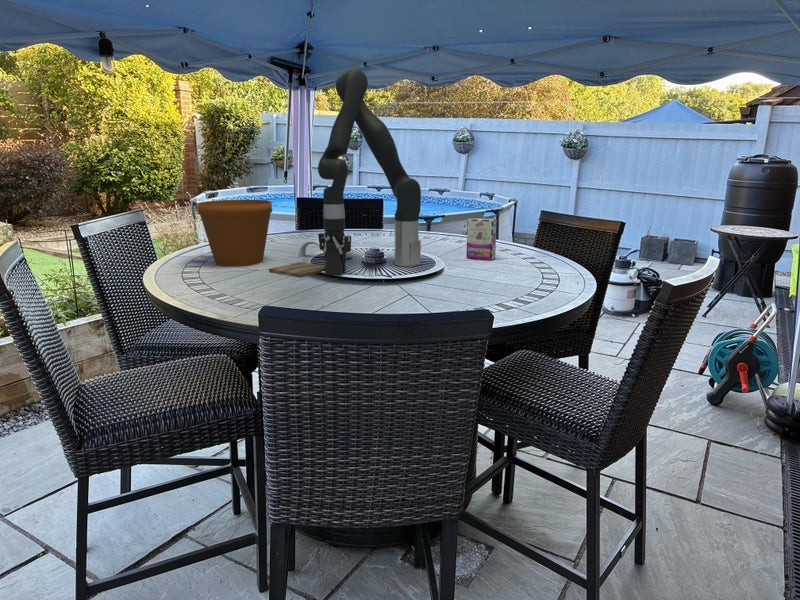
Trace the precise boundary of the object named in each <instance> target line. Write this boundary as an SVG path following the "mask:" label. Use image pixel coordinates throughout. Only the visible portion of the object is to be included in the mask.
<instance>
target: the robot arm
mask: <svg viewBox="0 0 800 600" xmlns="http://www.w3.org/2000/svg"><path fill="white" fill-rule="evenodd" d="M368 86H369V81H368V77H367V75H366V73H365V72H363V71H362V70H361V69H358V68H353V69H350V70H348V71H346V72H344V73H343V74H341V75H340V76H339V77H338V78H337V79H336V81H335V91H336V93H337V95H338V97H339V98H340V100H341V102H342V104H341V107H340V110H339V112H338V114H337V116H336V118H335V120H334V122H333V125H332V128H331V130H330V135H329V140H328V144H327V147H326V148H325V150H324V152H323V154H322V156H321V158H320V159H319V160H318V161H319V162H318V165H317V172H318V175H319V177H320V178H321V179H322V180H329V181H330V180H332V183H331V185H330V186H327V187H324V188H323V208H322V210H323V213H322V214H323V215H322V216H323V229H324V230H323V231H324V232H320V233H318V241H319V246H320V247H319V246H318V247H319V250H320V251H322V250H323V251H324V252H325V254H324V261H325V262H326V240H328V241H330V240H331V241H333V242H334V243H335V245H336V247H337V249H339V252H340V260H341V261H342V264H345V265H346V263H347V258H346V253H348V252H350V251H351V250H352V249H351V248H352V247H351V246H352V236H351V235H346V234H345V232H344V231H345V229H346V214H345V213H346V212H345V202H344V201H345V199H344V191H345V187H346V183H347V180H348V175H349V168H348V165H347V163H346V161H345V160H344V159H341V158H339V157H341V156H344V155H346V154H347V152H348V150H349V147H350V146H349V145H350V142H351V141H350V140H351V137H352V133H353V129H354V125H355V124H356V126H357V127H358V129H359V131H360V133H361V134H362V136H363V138H364V140H365V142H366V144H367V146H368V147H369V150H370V152H371V153H372V155H373V157H374V158H375V160H376V162H377V163H378V165H379V167H381V169H382V171H383V173H384V175H385V177H386V180H387V181H388V183H389V187H390V189H391V191H392V194H393V196H394V198H395V199H396V210H395V213H394V265H395V266H399V267H410V268H411V267H416V266H419V265H421V249H422V248H421V247H422V246H421V245H422V244H421V243H422V241H421V240H420V239H419V230H420V229H419V220H420V217H419V216H420V213H421V205H422V204H421V203H422V189H421V185H420V183H419V182H418V181H417V180H416V179H414V178H412V177H410V176H409V174H408V173H407V172H406V170H405V169H404V167H403V164H402V163H401V161H400V157H399V153H398V148H397V146H396V143H395V139H394V138H393V136H392V134H391V133H390V130H389V129H388V127H387V125H386V124H385V123H384V121H382V120H381V119H380V118H379V117H378V116H377V115H376V114H375V113H373V112H372V110H370V108H369V107H368V106H367V104H366V102H365V100H364V98H365V96H366V94H367V93H366V92H367V90H368ZM342 241H343V245H339V244H340V243H341V242H342ZM342 247H343V250H342ZM323 251H322V252H323ZM324 252H323V253H324Z"/></svg>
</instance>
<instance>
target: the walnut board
mask: <svg viewBox="0 0 800 600" xmlns="http://www.w3.org/2000/svg"><path fill="white" fill-rule="evenodd" d="M322 271H325V265H321V264H315V263H307V262H303V261H302V262H301V261H300V262H294V263H291V264H286V265H281V266H277V267H273V268H272V267H271V268H269V269H268V272H269V273H273V274H277V275H278V274H279V275H283V276H284V275H285V276H290V277H296V278H303V277H305V278H306V277H308V276H312V275H316V274H320V272H321V273H323V272H322Z"/></svg>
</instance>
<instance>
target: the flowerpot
mask: <svg viewBox="0 0 800 600" xmlns="http://www.w3.org/2000/svg"><path fill="white" fill-rule="evenodd" d="M196 205H197V206H196V207H197V214H198V215H199V216H200V219H201V222H202V226H203V229H204V232H205V235H206V238H207V242H208V244H209V245H208V246H209V248H210V251H211V254H212V257H213V261H214V264H215V263H216V264H215V265H217V266H220V265H221V267H246V266H247V267H249V266H255V265H258V264H261V263H263V262H264V256H265V250H266V249H265V248H266V245H267V244H266V243H267V237H268V231H269V225H270V219H271V213H273V204H272V201H270V200H264V199H263V200H262V199H261V200H260V199H223V200H210V201H209V200H207V201H201V202H198V203H197V204H196Z"/></svg>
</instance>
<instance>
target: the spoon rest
mask: <svg viewBox="0 0 800 600" xmlns="http://www.w3.org/2000/svg"><path fill="white" fill-rule="evenodd" d="M312 244H314V245H316V246H318V247H319V248H320V246H319V239H318V240H317V239H314V240H313V239H312V240H309V241H306V242H304V243H302V245H300V247H299V250H298V257H304V256H306V251H307V247H308V246H309V245H312ZM321 251H322V252H323V254H324V255H325V252H324V251H323V250H321ZM353 252H354V251H353V250H352V249H351V251H350V252H348V253H346V259H348V258H349V257H350V256H351V255H352V254H353Z"/></svg>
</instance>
